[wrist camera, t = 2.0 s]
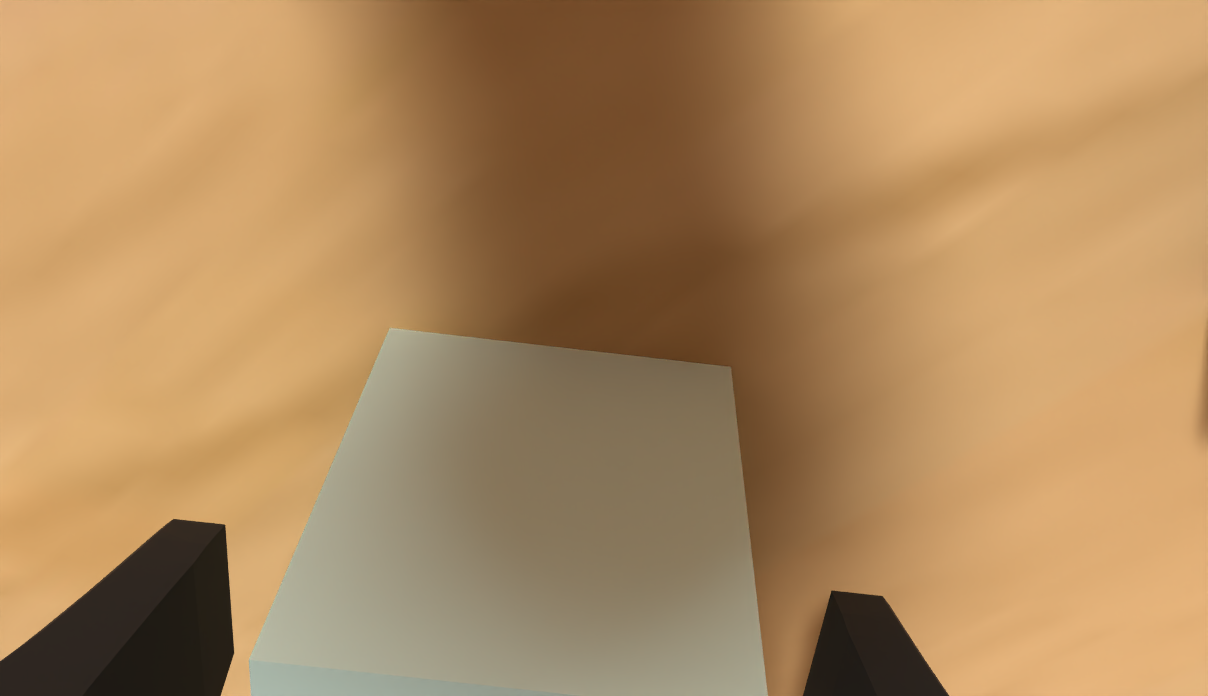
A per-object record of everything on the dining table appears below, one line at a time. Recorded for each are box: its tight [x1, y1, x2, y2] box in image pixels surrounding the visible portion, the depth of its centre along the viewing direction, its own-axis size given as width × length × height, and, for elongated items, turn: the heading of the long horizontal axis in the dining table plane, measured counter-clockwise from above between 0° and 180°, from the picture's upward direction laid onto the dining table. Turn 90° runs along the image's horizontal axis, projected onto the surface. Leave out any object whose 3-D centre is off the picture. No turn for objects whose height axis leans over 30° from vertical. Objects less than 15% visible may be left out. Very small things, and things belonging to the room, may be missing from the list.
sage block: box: [249, 328, 768, 696], centre depth 14 cm, size 4×4×6 cm
